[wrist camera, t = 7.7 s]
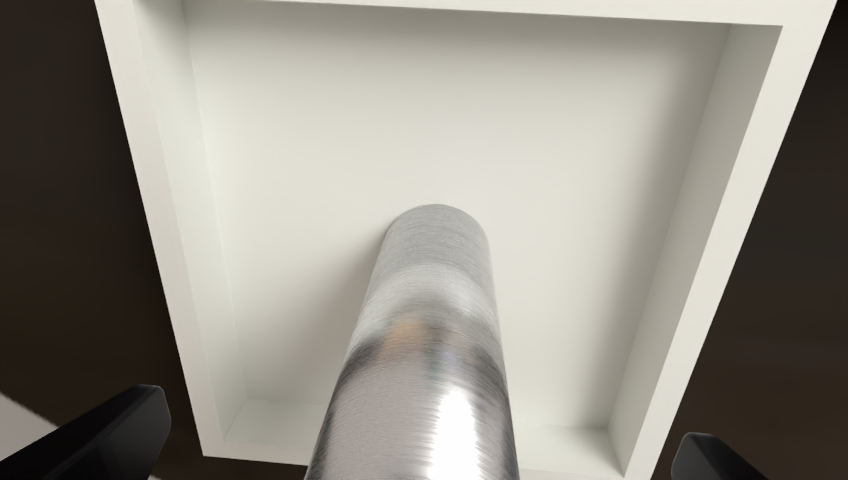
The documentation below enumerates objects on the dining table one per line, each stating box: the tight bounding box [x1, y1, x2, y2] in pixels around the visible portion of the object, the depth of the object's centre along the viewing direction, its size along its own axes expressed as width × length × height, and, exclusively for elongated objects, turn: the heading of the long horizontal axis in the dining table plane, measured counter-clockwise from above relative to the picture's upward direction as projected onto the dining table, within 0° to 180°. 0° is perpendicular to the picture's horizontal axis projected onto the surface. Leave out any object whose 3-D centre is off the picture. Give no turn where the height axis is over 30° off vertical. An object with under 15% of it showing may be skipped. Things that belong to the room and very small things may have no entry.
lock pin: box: [304, 204, 520, 480], centre depth 10 cm, size 3×3×9 cm
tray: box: [95, 0, 837, 480], centre depth 13 cm, size 15×15×2 cm
